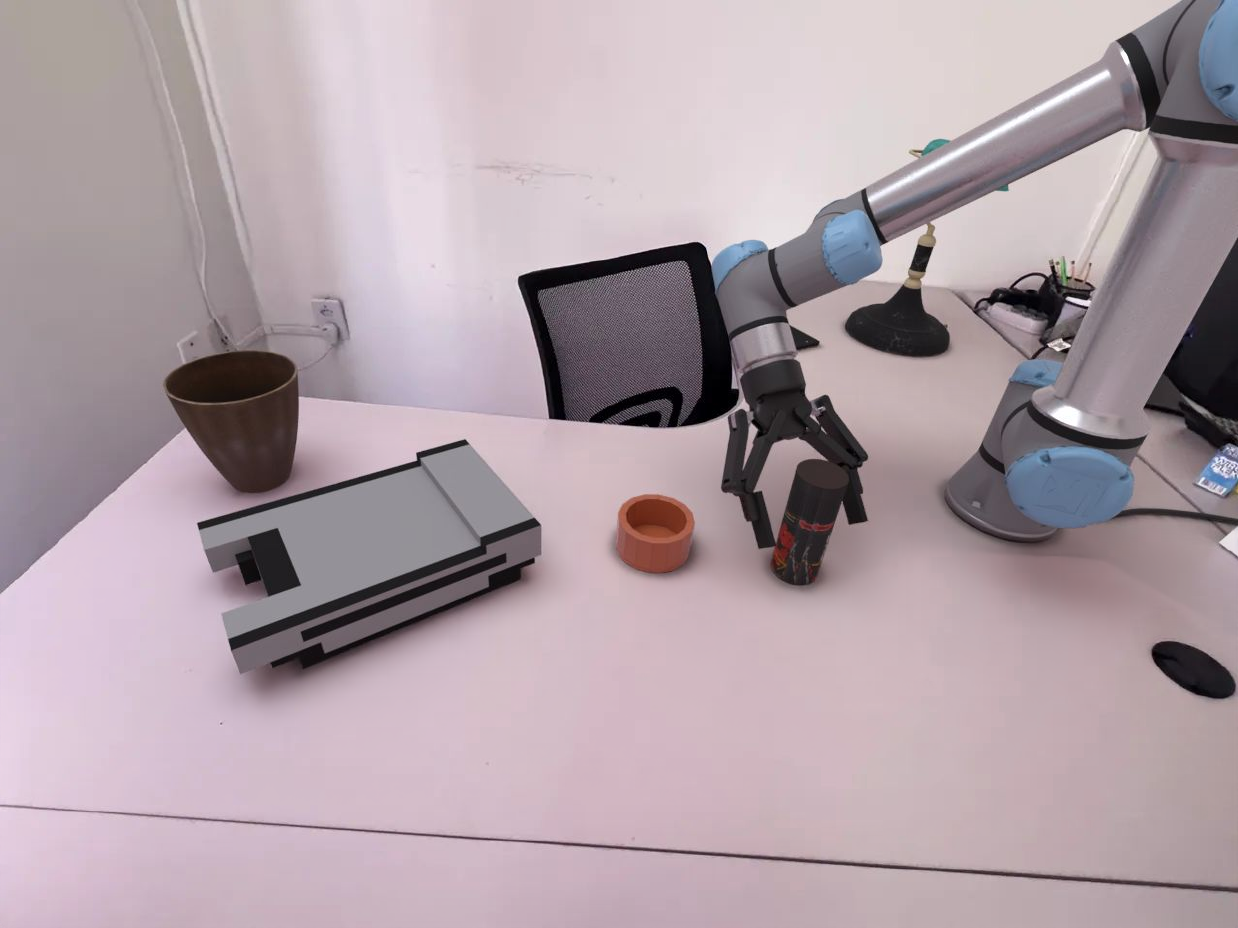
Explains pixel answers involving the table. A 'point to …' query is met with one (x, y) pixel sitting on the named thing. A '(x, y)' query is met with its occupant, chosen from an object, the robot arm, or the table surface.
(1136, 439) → the robot arm
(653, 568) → the cup
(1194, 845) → the table surface
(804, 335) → the cell phone
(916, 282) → the banker's lamp
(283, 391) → the flower pot
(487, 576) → the game console
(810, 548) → the deodorant
